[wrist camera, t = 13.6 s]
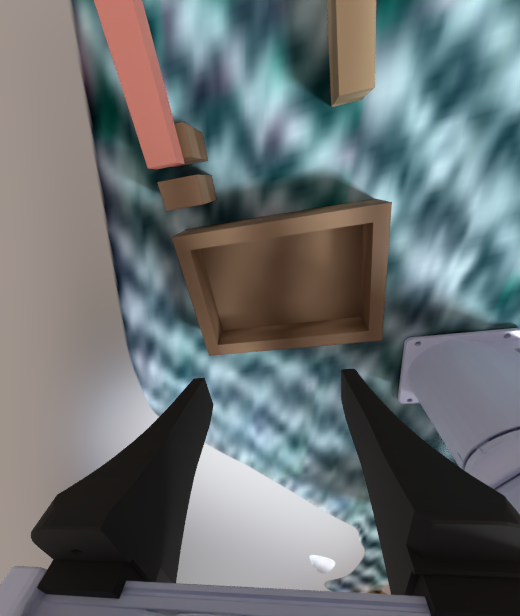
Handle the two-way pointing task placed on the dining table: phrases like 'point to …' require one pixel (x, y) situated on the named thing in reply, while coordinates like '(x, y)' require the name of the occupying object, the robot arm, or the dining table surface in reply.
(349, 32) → the lid
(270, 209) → the dining table surface
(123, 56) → the pink bar
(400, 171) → the dining table surface
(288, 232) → the toolbox
